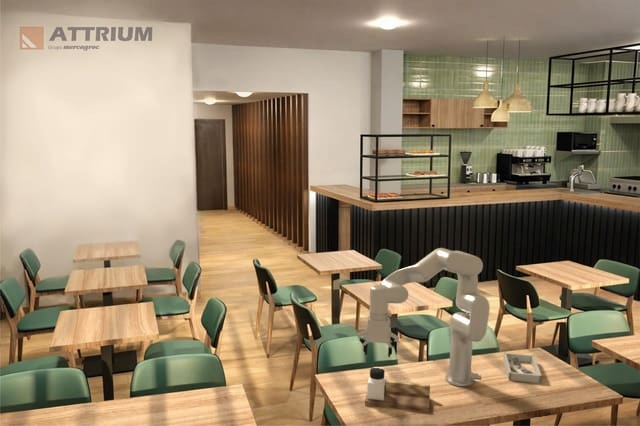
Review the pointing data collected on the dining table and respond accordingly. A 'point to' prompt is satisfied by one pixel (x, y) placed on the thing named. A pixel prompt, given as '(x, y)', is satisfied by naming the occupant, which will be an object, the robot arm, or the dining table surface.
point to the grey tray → (522, 376)
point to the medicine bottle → (376, 384)
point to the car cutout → (519, 367)
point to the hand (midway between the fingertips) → (377, 354)
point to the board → (404, 397)
